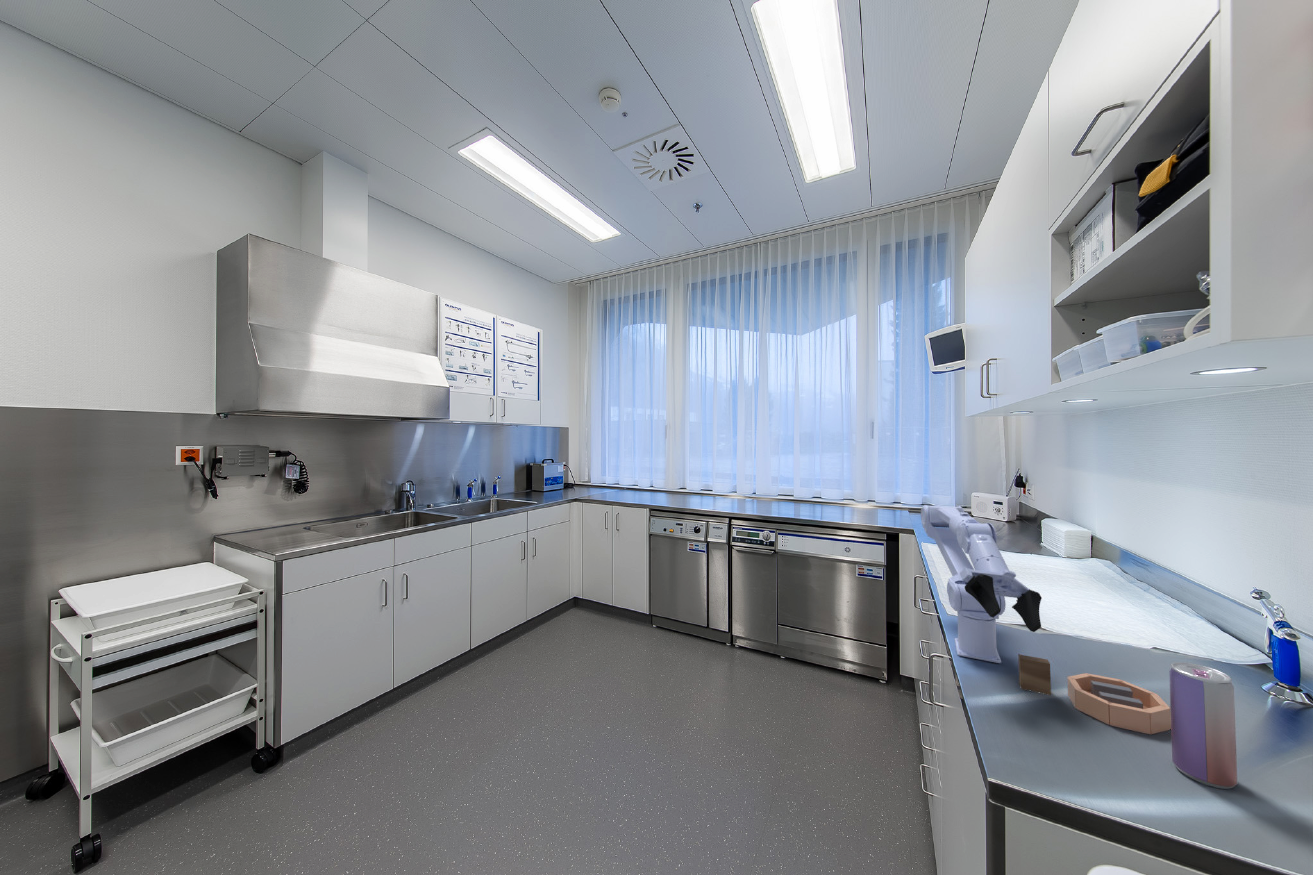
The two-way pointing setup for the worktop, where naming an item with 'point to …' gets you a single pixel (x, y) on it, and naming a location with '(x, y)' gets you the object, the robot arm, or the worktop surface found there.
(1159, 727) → the tan octagonal tray
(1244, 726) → the worktop surface
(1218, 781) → the beverage can
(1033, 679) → the brown rectangular block
